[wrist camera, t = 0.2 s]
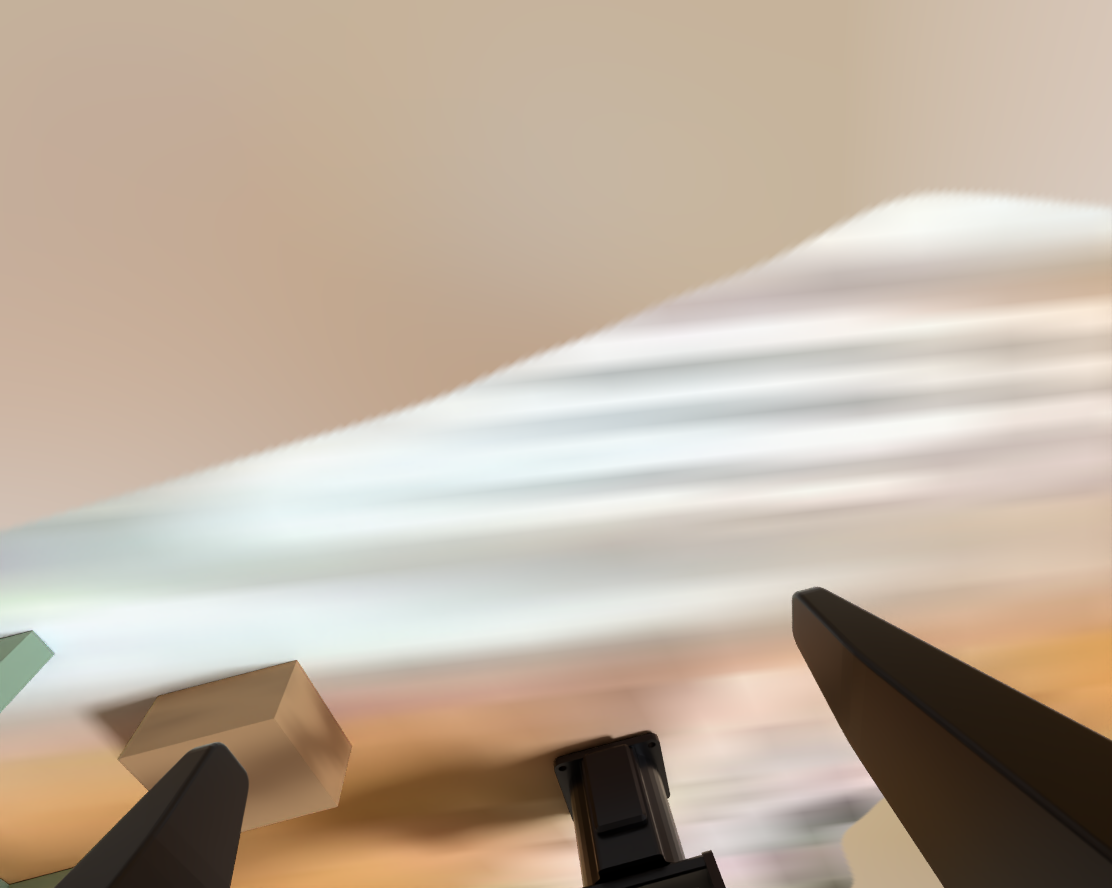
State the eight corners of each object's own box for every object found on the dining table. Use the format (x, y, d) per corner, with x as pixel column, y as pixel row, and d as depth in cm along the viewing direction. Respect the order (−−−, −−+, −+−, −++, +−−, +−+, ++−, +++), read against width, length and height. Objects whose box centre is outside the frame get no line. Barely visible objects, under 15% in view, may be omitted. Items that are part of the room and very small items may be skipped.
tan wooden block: (353, 740, 29) (337, 806, 26) (230, 772, 29) (200, 843, 26) (299, 655, 26) (274, 718, 23) (161, 690, 26) (117, 759, 23)
